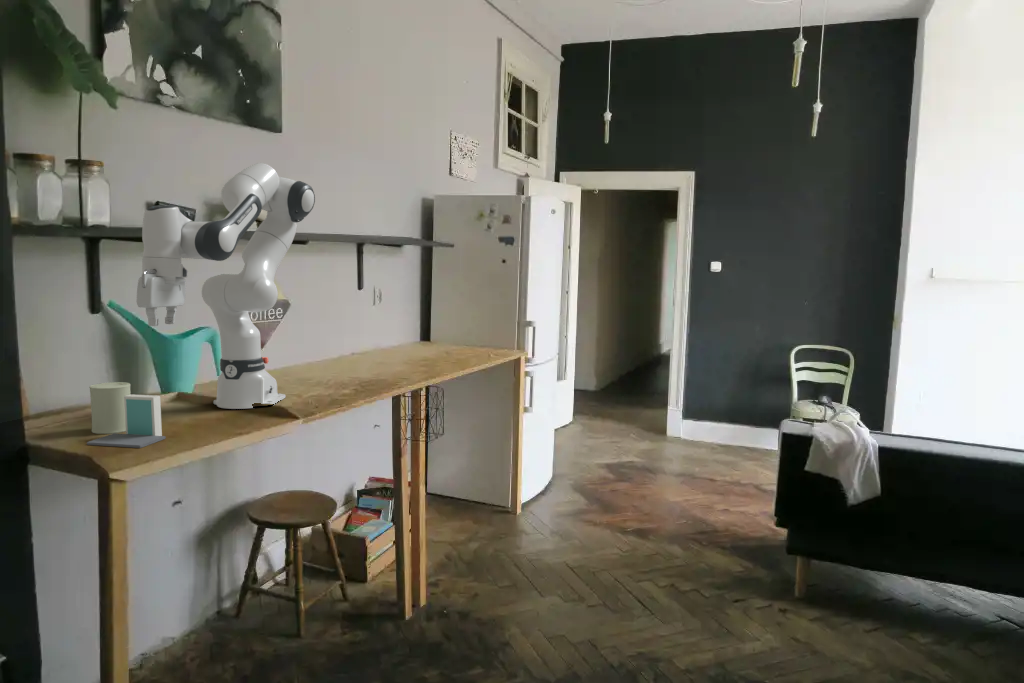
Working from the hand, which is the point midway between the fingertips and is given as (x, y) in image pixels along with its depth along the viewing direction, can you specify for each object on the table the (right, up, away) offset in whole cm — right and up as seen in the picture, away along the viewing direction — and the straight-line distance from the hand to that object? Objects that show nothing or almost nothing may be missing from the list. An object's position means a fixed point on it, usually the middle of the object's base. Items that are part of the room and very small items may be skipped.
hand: (161, 325), depth 182 cm
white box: (-3, -27, -4) cm, 28 cm away
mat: (-4, -28, -10) cm, 30 cm away
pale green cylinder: (-14, -27, +2) cm, 30 cm away
